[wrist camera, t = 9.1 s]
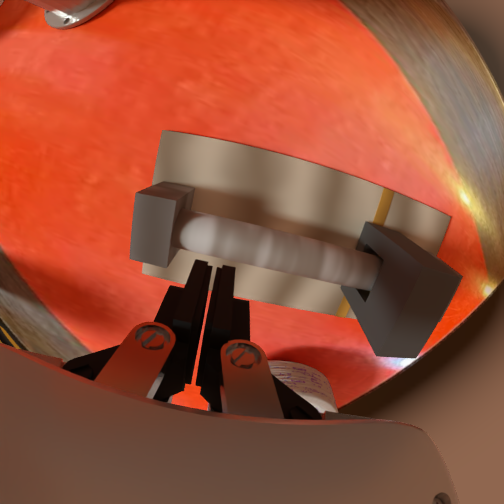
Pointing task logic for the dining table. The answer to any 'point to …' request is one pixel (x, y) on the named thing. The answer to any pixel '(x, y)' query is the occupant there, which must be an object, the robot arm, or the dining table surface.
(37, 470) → the robot arm
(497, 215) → the dining table surface
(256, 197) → the pipe rig
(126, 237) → the dining table surface
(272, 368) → the paper bowls
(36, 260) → the dining table surface
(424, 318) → the collar
